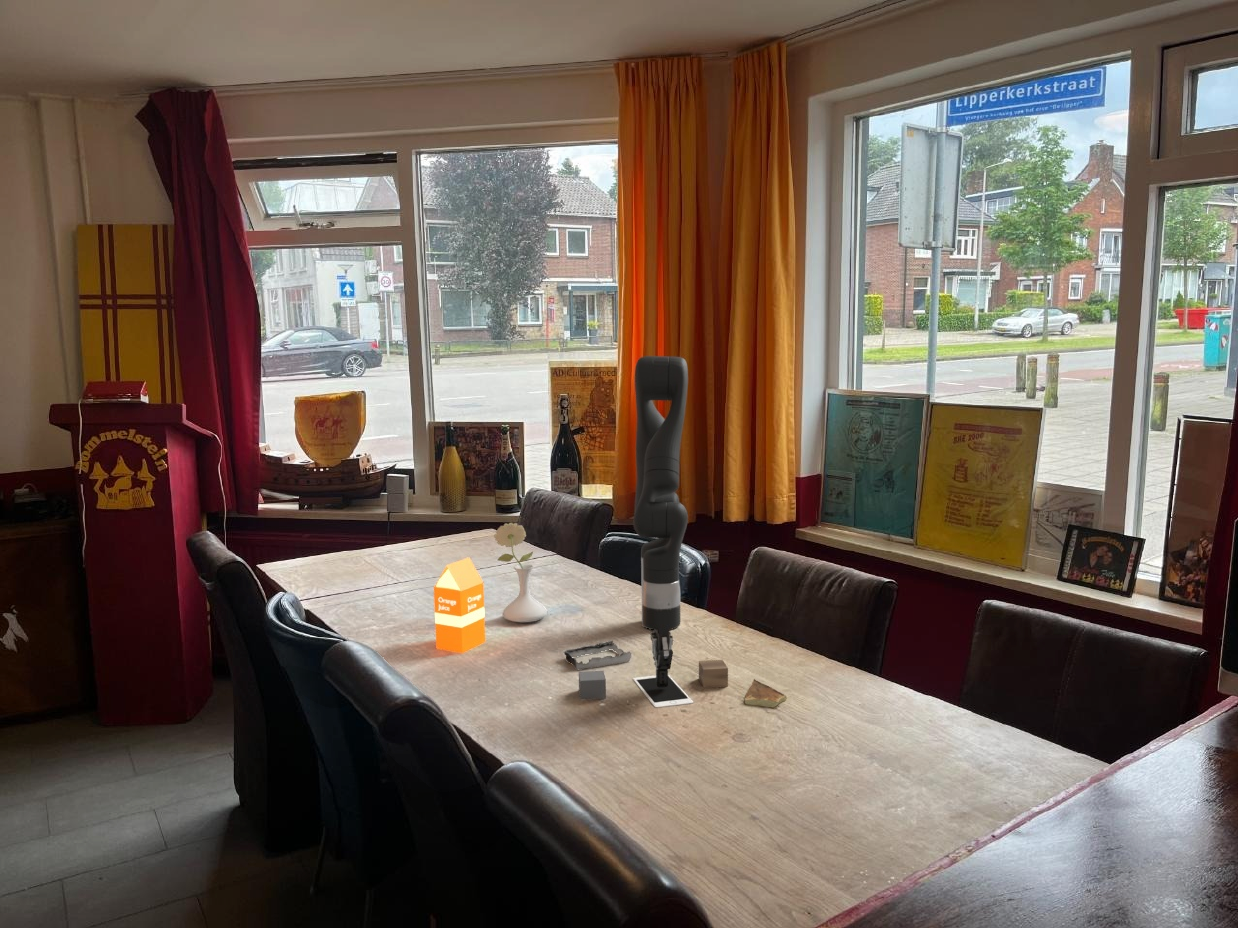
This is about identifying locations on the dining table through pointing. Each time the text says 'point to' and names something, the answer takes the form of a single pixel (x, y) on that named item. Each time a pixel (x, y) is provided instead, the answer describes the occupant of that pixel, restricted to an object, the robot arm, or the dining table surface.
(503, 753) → the dining table surface
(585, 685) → the charcoal block
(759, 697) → the shard
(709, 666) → the walnut block
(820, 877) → the dining table surface
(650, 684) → the cell phone
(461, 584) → the orange juice
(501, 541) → the flower in vase
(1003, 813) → the dining table surface
